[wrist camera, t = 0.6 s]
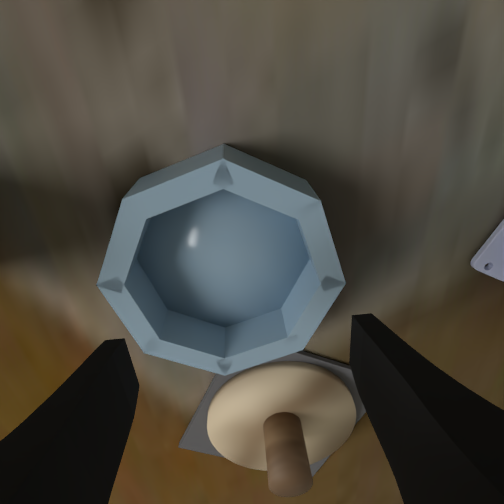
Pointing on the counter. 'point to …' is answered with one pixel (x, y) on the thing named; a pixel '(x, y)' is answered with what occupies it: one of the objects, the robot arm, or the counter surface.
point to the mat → (197, 428)
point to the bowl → (221, 262)
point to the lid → (281, 421)
